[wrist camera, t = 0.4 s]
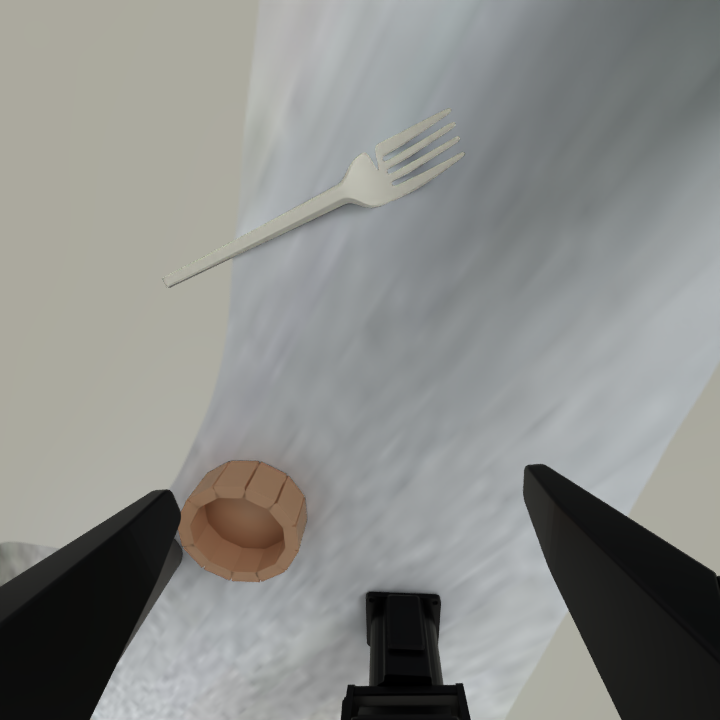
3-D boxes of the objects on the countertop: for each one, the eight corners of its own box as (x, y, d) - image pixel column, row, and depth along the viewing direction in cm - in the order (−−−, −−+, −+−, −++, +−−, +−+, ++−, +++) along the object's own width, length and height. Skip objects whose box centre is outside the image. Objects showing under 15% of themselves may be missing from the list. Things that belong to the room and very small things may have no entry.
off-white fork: (156, 259, 23) (137, 261, 21) (442, 110, 19) (447, 97, 17) (182, 304, 24) (166, 309, 22) (461, 170, 20) (468, 163, 18)
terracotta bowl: (309, 551, 30) (302, 583, 27) (208, 547, 30) (190, 579, 27) (301, 461, 27) (292, 487, 24) (189, 460, 27) (167, 485, 25)
